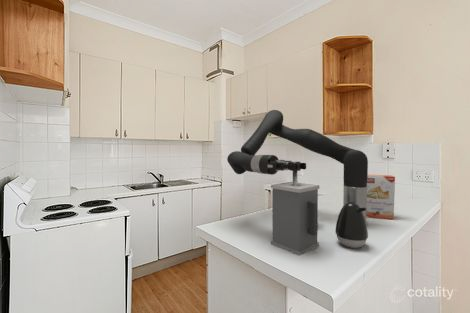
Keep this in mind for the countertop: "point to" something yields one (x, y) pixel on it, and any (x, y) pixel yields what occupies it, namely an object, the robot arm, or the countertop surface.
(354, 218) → the black egg-shaped dispenser
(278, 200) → the press
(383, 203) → the cracker box
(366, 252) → the countertop surface
